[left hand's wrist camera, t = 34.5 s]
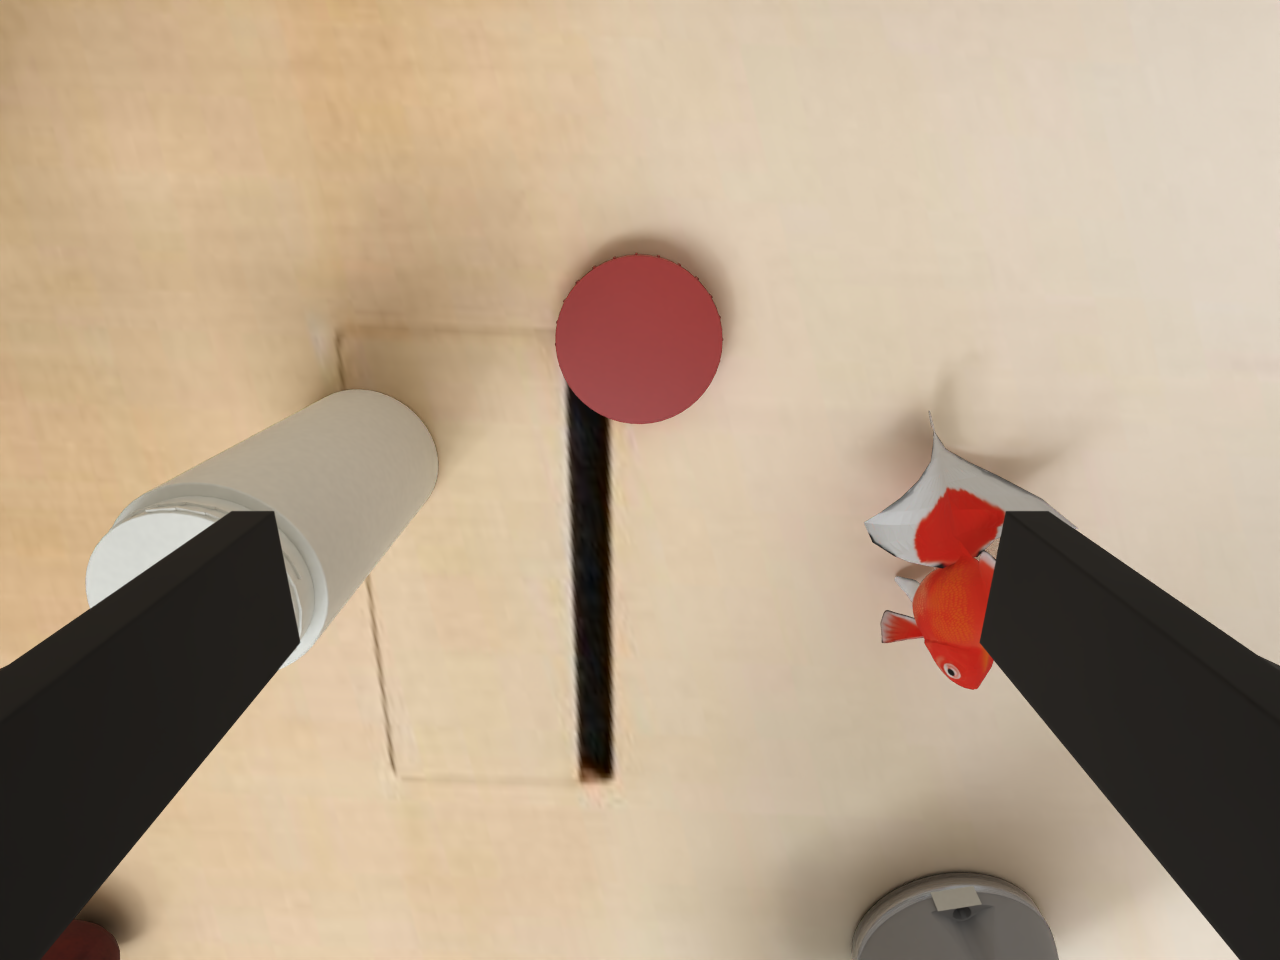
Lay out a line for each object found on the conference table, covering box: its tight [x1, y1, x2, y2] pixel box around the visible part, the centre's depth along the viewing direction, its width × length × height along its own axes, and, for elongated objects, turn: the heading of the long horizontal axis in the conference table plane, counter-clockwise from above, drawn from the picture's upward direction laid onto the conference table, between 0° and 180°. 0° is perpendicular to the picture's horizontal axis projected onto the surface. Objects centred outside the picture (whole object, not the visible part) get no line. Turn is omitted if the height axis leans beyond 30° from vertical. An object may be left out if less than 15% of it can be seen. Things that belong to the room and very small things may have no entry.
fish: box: [864, 411, 1078, 690], centre depth 39 cm, size 11×16×10 cm
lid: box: [555, 253, 723, 424], centre depth 38 cm, size 9×9×2 cm
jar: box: [86, 389, 438, 669], centre depth 33 cm, size 8×8×17 cm
